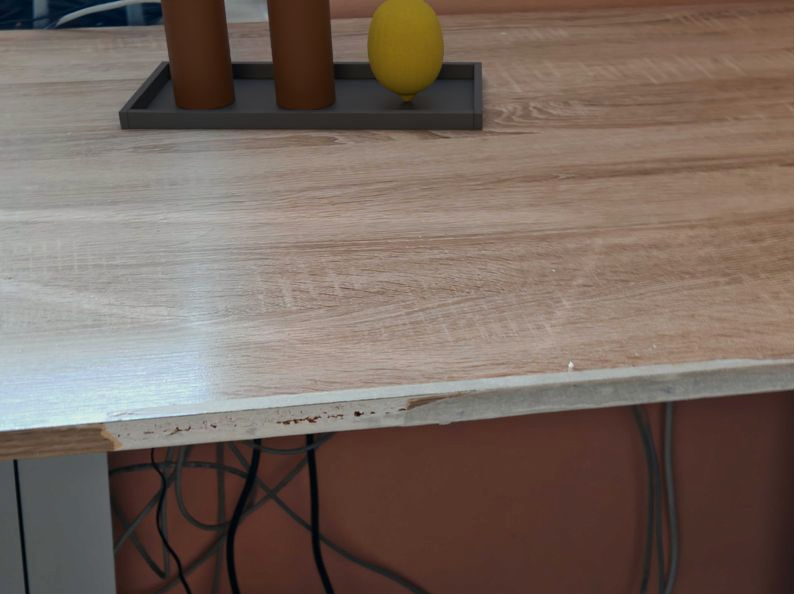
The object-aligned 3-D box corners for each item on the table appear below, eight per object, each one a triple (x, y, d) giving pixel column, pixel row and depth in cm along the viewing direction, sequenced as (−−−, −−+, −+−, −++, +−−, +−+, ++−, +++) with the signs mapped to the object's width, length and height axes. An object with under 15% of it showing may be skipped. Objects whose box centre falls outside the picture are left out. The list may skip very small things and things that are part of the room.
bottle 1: (168, 110, 79) (141, -76, 72) (182, 91, 82) (158, -88, 76) (229, 110, 79) (207, -76, 72) (240, 91, 82) (220, -88, 76)
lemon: (429, 116, 77) (427, 2, 73) (358, 108, 79) (352, -4, 75) (454, 93, 82) (453, -15, 78) (386, 86, 83) (382, -21, 79)
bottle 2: (271, 110, 79) (253, -76, 72) (281, 91, 82) (264, -88, 76) (332, 110, 79) (319, -76, 72) (338, 91, 82) (327, -87, 76)
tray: (122, 136, 76) (118, 112, 75) (165, 83, 86) (161, 61, 85) (482, 137, 76) (482, 112, 75) (481, 84, 86) (481, 61, 85)
